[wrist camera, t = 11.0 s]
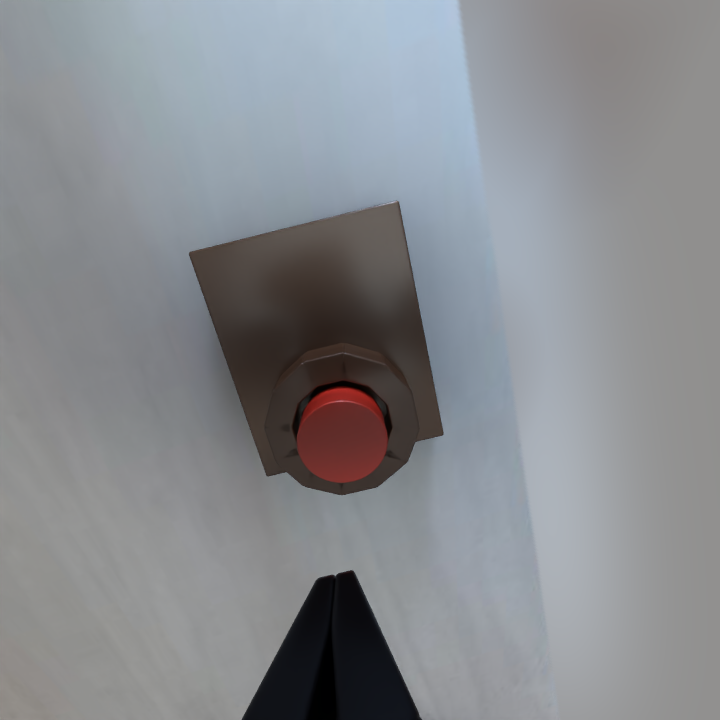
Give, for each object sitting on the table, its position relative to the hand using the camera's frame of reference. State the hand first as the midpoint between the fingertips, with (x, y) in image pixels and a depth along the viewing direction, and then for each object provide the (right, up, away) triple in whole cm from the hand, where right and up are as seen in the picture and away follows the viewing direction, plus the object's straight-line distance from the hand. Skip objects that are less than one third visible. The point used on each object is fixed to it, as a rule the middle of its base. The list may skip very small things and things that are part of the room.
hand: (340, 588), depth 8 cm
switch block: (-1, +6, +11) cm, 12 cm away
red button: (0, +2, +8) cm, 8 cm away
